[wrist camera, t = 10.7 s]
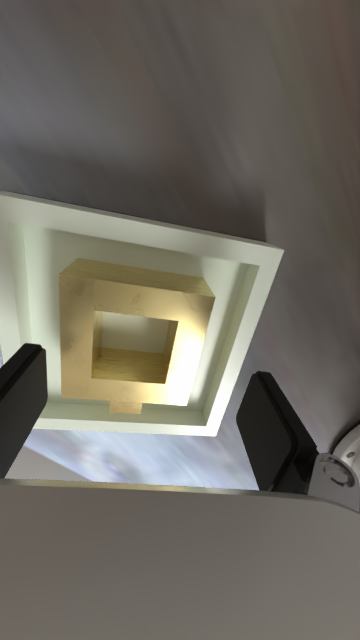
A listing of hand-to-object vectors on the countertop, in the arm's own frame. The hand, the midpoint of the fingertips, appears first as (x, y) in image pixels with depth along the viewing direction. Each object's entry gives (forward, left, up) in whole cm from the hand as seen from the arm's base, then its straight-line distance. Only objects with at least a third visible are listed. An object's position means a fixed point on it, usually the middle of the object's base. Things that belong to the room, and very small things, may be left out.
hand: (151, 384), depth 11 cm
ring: (+1, 0, -5) cm, 5 cm away
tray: (+1, +1, -6) cm, 6 cm away
